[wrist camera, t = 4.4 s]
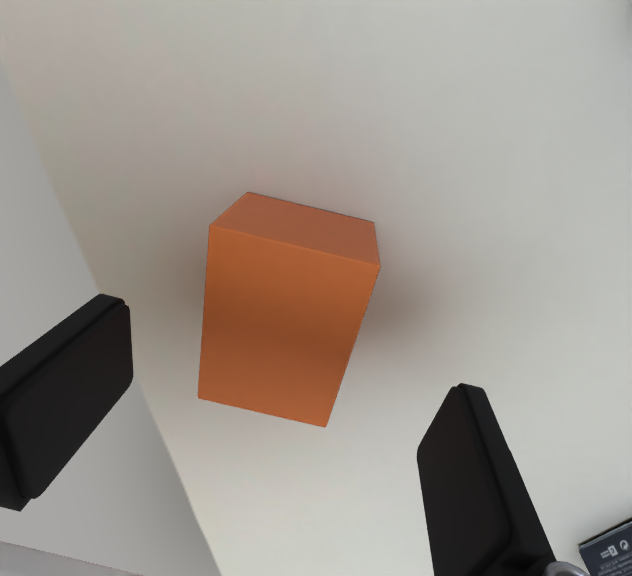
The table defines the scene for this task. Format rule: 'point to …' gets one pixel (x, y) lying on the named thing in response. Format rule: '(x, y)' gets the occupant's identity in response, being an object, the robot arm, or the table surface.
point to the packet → (283, 306)
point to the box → (610, 553)
